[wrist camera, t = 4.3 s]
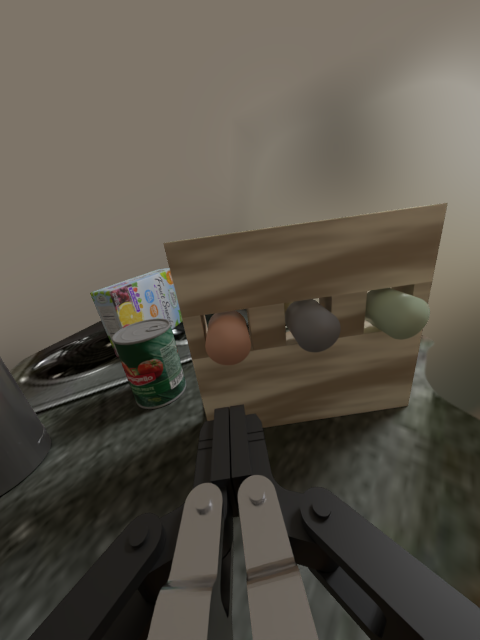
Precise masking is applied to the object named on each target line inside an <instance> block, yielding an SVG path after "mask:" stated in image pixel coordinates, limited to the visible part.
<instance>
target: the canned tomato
mask: <svg viewBox="0 0 480 640" xmlns="http://www.w3.org/2000/svg"><path fill="white" fill-rule="evenodd" d="M112 341H113V342H114V344H115V347H116V350H117V352H118V355H119V358H120V360H121V363H122V366H123V368H124V371H125V373H126V376H127V378H128V381H129V384H130V386H131V389H132V391H133V394H134V397H135V399H136V403H137V404H138V406H140V407H142V408H145V409H155V408H160V407H163V406H166V405H168V404H170V403H172V402H173V401H175V400H176V399H177V398H179V397H180V396H181V395H182V394H183V392H184V391H185V388H186V380H185V377H184V373H183V370H182V366H181V362H180V359H179V355H178V351H177V347H176V343H175V340H174V336H173V332H172V329H171V324H170V321H169V320H167V319H160V318H159V319H149V320H144V321H140V322H136V323H134V324H131V325H128V326H126V327H124V328H122V329H120V330H119V331H117V332H116V333H115V334H114V335H113V337H112Z"/></svg>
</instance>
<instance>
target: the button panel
mask: <svg viewBox="0 0 480 640" xmlns="http://www.w3.org/2000/svg"><path fill="white" fill-rule="evenodd" d="M446 209H447V203H443V204H435V205H427V206H418V207H411V208H405V209H397V210H390V211H383V212H376V213H369V214H363V215H355V216H348V217H341V218H334V219H328V220H321V221H313V222H306V223H299V224H292V225H285V226H278V227H271V228H264V229H257V230H250V231H243V232H236V233H229V234H222V235H215V236H208V237H201V238H195V239H194V238H193V239H187V240H179V241H172V242H168V243H164V248H165V252H166V256H167V260H168V264H169V268H170V272H171V276H172V280H173V284H174V288H175V292H176V296H177V300H178V304H179V308H180V312H181V316H182V320H183V324H184V328H185V332H186V336H187V341H188V345H189V349H190V353H191V357H192V361H193V365H194V369H195V373H196V377H197V381H198V385H199V389H200V393H201V397H202V401H203V405H204V409H205V413H206V417H207V421H211V420H214V410H215V409H216V408H223V407H229V409H230V406H235V405H241V404H244V408H245V414H246V415H249V414H255V413H256V415H257V416H258V417H259V419H260V420H261V422H262V427H263V428H266V427H272V426H279V425H285V424H292V423H298V422H305V421H311V420H318V419H324V418H331V417H337V416H344V415H351V414H357V413H364V412H370V411H377V410H383V409H390V408H396V407H403V406H408V403H409V398H410V392H411V387H412V382H413V377H414V372H415V367H416V362H417V357H418V352H419V346H420V341H421V336H422V331H423V329H422V330H421V331H420V332H419V333H418V334H416V335H415V336H413V337H410V338H408V339H402V340H399V339H394V338H392V337H390V336H389V335H387V334H386V333H384V332H383V331H381V330H379V329H378V328H376V327H375V326H373V325H372V324H370V323H368V322H367V321H365V311H366V299H367V291H369V290H377V289H384V288H390V287H392V289H394V290H397V291H400V292H403V293H406V294H409V295H412V296H415V297H417V298H420V299H423V300H424V301H425V302H426V303H427V304H428V300H429V295H430V290H431V285H432V280H433V274H434V270H435V265H436V260H437V254H438V249H439V244H440V239H441V234H442V229H443V224H444V219H445V213H446ZM314 298H319V304H320V305H322V306H323V307H324V308H326V309H327V310H328V311H329V312H331V313H332V314H333V315H335V316H336V317H337V319H338V320H339V322H340V327H341V330H340V335H339V337H338V339H337V341H336V342H335V343H334V344H333V345H332V346H331V347H330V348H328V349H326V350H324V351H321V352H308V351H306V350H304V349H302V348H301V347H300V346H299V344H298V343H297V341H296V340H295V338H294V337H293V335H292V334H291V332H286V329H285V312H284V303H288V302H295V301H302V300H308V299H314ZM240 309H247V315H248V323H249V331H250V341H251V349H250V352H249V354H248V356H247V357H246V358H245V359H244V360H243V361H241V362H240V363H237V364H235V365H221V364H218V363H216V362H214V361H213V360H212V359H211V358H210V357H209V356H208V354H207V352H206V348H205V343H206V337H207V331H208V329H207V324H206V319H205V315H206V314H213V313H220V312H227V311H233V310H240Z"/></svg>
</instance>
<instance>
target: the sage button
mask: <svg viewBox="0 0 480 640" xmlns="http://www.w3.org/2000/svg"><path fill="white" fill-rule="evenodd" d="M429 315H430V309H429V306H428V304H427V303H426V302H425V301H424V300H423V299H420V298H417V297H415V296H412V295H409V294H406V293H403V292H400V291H397V290H394V289H392V288H384V289H377V290H371V291H370V292H368V293H367V299H366V311H365V321H367V322H368V323H370V324H372V325H373V326H375V327H376V328H378V329H379V330H381V331H383V332H384V333H386V334H387V335H389V336H390V337H392V338H394V339H399V340H402V339H408V338H410V337H413V336H415V335H416V334H418V333H419V332H420V331H421V330H422V329H423V328H424V326H425V325H426V324H427V322H428V319H429Z"/></svg>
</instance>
